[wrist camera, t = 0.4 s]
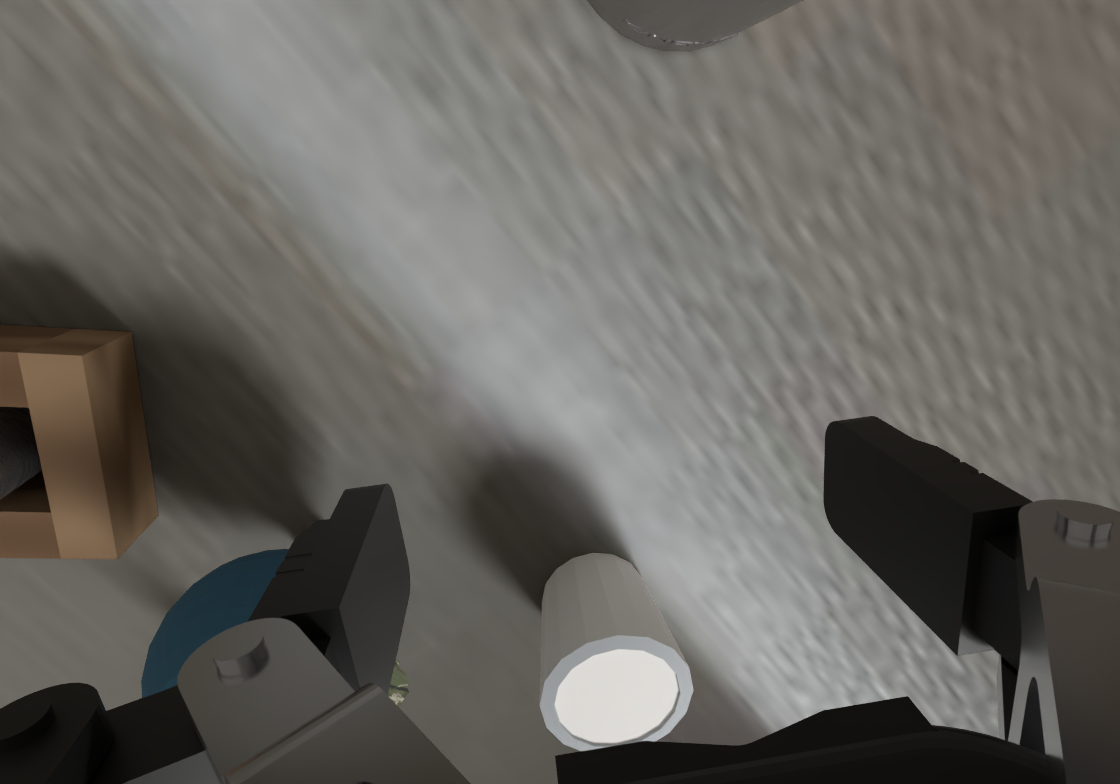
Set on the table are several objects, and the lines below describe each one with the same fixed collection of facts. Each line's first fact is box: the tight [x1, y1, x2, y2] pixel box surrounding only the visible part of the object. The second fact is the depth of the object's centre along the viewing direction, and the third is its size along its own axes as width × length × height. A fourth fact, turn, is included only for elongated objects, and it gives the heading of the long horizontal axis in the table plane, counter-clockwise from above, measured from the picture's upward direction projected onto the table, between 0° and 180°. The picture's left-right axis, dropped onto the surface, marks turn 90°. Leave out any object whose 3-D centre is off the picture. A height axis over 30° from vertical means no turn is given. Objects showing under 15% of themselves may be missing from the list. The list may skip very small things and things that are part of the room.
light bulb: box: [141, 549, 289, 698], centre depth 26 cm, size 8×8×12 cm
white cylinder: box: [540, 553, 693, 751], centre depth 31 cm, size 7×7×7 cm
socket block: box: [0, 325, 159, 559], centre depth 26 cm, size 9×9×4 cm
